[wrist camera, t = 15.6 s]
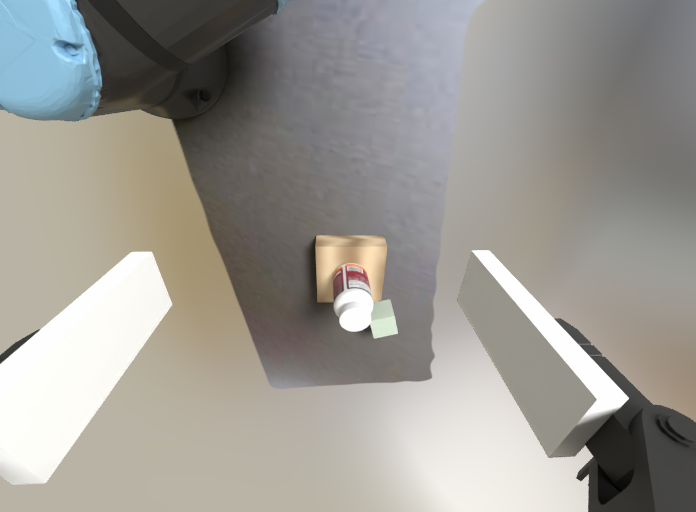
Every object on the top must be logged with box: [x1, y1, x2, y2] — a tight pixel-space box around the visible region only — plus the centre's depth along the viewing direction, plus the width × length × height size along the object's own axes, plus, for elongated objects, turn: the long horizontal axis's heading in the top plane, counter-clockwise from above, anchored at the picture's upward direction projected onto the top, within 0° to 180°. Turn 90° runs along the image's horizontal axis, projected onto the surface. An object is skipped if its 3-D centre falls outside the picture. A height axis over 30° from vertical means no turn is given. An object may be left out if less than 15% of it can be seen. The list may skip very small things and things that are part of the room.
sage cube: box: [370, 299, 398, 338], centre depth 58 cm, size 5×5×5 cm
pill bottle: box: [333, 263, 373, 332], centre depth 45 cm, size 6×6×11 cm
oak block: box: [315, 236, 387, 302], centre depth 52 cm, size 12×12×4 cm
